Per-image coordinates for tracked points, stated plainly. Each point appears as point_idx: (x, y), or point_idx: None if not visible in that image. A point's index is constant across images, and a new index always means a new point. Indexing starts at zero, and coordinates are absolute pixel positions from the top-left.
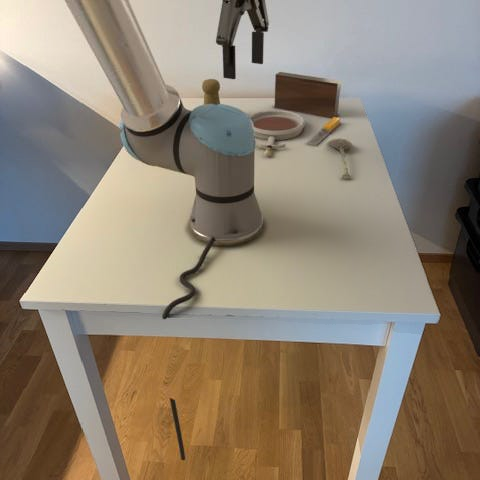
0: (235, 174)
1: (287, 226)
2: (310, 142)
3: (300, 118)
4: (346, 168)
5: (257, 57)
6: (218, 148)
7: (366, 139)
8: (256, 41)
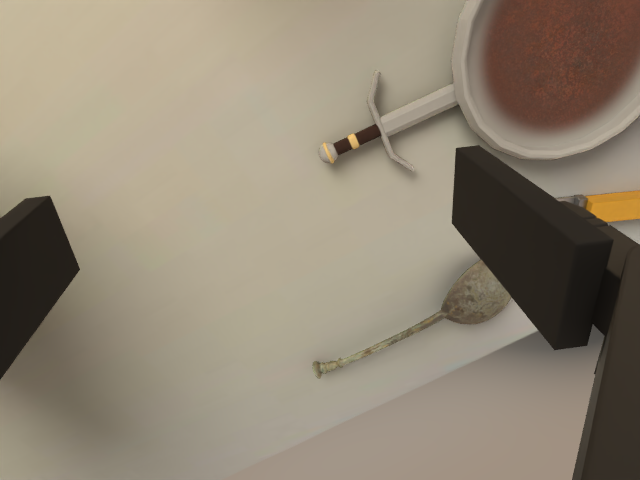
0: None
1: (54, 367)
2: None
3: (625, 118)
4: (339, 366)
5: (467, 209)
6: None
7: None
8: (521, 253)
